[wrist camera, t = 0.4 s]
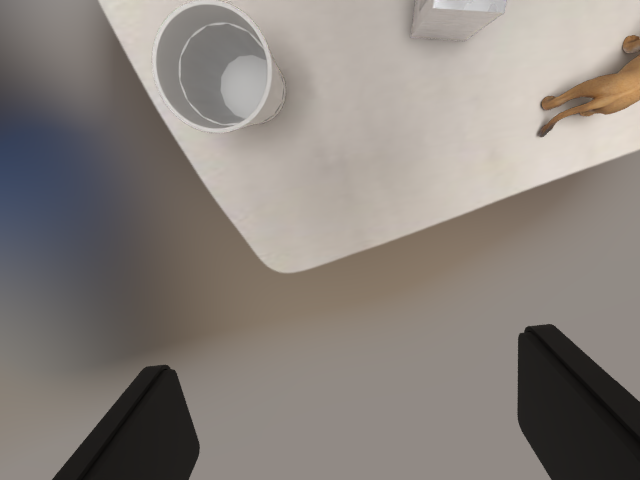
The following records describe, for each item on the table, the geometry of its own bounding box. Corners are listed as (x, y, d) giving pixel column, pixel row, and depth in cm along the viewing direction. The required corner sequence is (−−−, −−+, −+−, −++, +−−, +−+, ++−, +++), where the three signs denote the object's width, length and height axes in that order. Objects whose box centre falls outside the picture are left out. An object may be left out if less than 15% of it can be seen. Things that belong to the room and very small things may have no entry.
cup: (308, 70, 33) (292, 38, 22) (273, 146, 36) (243, 153, 24) (232, 28, 33) (175, -28, 21) (202, 109, 35) (135, 98, 24)
